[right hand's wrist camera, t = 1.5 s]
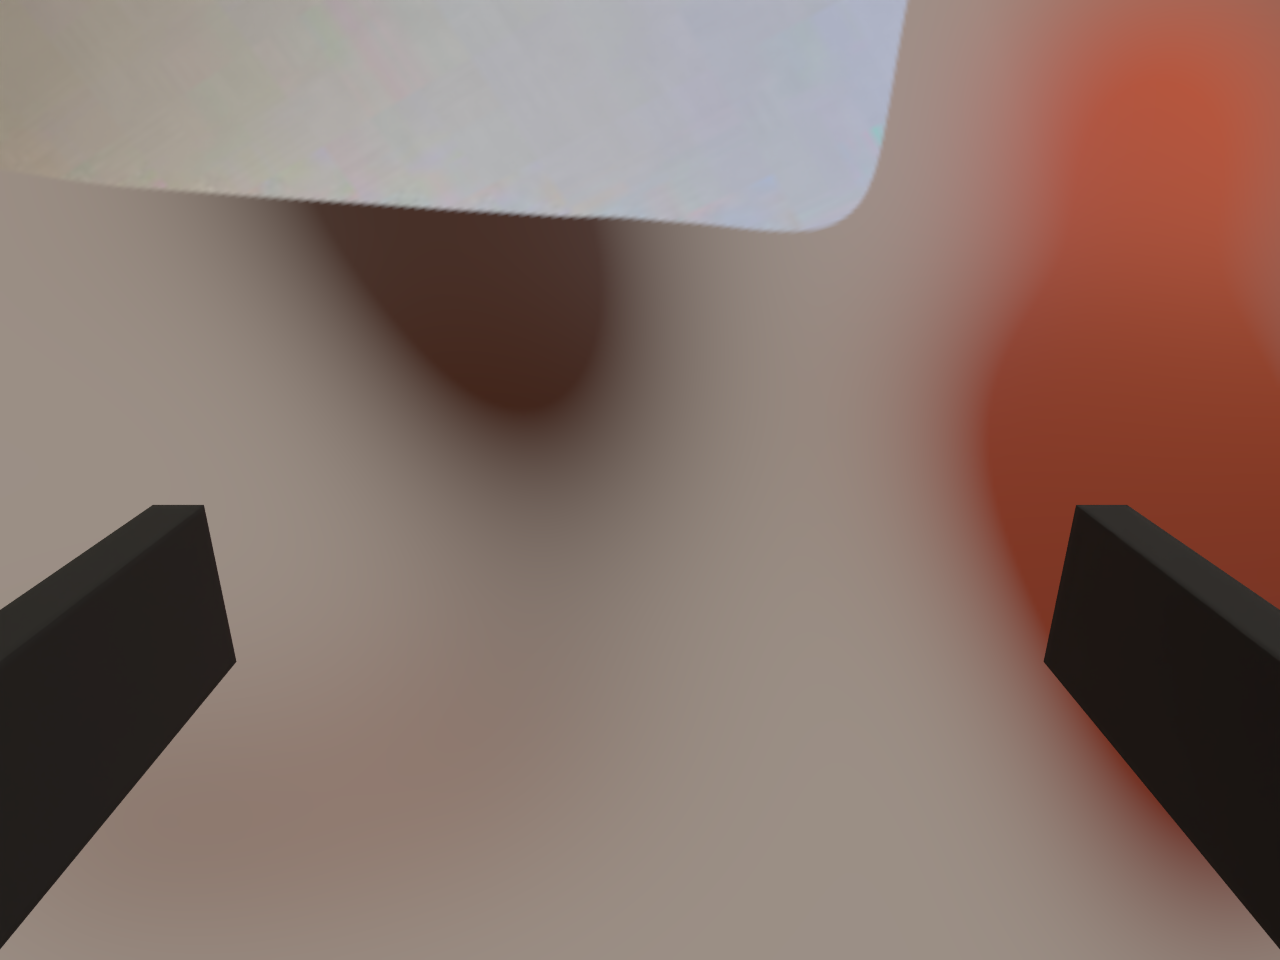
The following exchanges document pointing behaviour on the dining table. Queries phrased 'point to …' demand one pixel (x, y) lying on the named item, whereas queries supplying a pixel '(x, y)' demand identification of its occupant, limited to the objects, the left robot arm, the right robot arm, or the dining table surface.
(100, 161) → the dining table surface
